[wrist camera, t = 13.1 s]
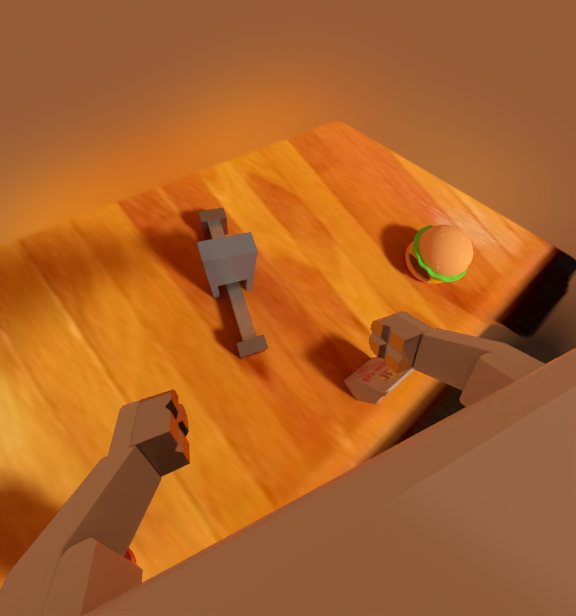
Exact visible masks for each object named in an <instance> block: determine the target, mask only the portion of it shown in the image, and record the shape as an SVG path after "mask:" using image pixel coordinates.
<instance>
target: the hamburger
mask: <svg viewBox="0 0 576 616" xmlns="http://www.w3.org/2000/svg"><path fill="white" fill-rule="evenodd" d="M472 259H473V247H472V243H471V241H470V239H469V238H468V236H467V235H466V234H465V233H464V232H463V231H461V230H460V229H458V228H455V227H453V226H449V225H439V226H431V225H430V226H427V227H424V228H422V229H421V230H419V231H418V233H417V234H416V235H415V237H414V241H413V242H412V243H410V244H409V246H408V247H407V249H406V253H405V262H406V265H407V268H408V270H409V271H410V272H411V274H412V275H413V276H414V277H415V278H417V279H418V280H420V281H422V282H424V283H429V284H438V283H441V282H443V281H444V282H451V281H456V280H458V279H460V278H461V277H463V276H464V275H465V273H466V269H467V268H468V266H469V265H470V263H471V261H472Z"/></svg>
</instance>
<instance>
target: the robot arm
mask: <svg viewBox="0 0 576 616" xmlns="http://www.w3.org/2000/svg"><path fill="white" fill-rule="evenodd" d="M371 330H372V331H373V333H372V334H371V336H370V337H369V345H370V348H371V350H372V351H373V353H374V354H375V355H376V356H377V357H380V358H383V359H384V361H385V364H386V365H387V366H388V367H389V368H390V369H391V370H393V371H394V372H395V373H396V374H398V373H400V372H403V371H405V370H408V369H410V368H413V369H415V370H417V371H419V372H422V373H424V374H426V375H429V376H431V377H433V378H435V379H438V380H440V381H442V382H445V383H447V384H449V385H452V386H454V387H456V388H459V389H461V390H463V393H462V395H461V397H460V402H461V403H462V404H463V405H465V406H466V408H464V409H462V410H460V411H458V412H456V413H455V414H453V415H451V416H449V417H447V418H445V419H444V420H442V421H440V422H438V423H436V424H434V425H432V426H431V427H429V428H427V429H425V430H423V431H421V432H420V433H418V434H416V435H414V436H412V437H410V438H408V439H407V440H405V441H403V442H401V443H399V444H397V445H396V446H394V447H392V448H390V449H388V450H386V451H385V452H383V453H381V454H379V455H377V456H375V457H373V458H372V459H370V460H368V461H366V462H364V463H362V464H361V465H359V466H357V467H355V468H353V469H351V470H349V471H348V472H346V473H344V474H342V475H340V476H338V477H337V478H335V479H333V480H331V481H329V482H327V483H325V484H324V485H322V486H320V487H318V488H316V489H314V490H313V491H311V492H309V493H307V494H305V495H303V496H301V497H300V498H298V499H296V500H294V501H292V502H290V503H289V504H287V505H285V506H283V507H281V508H279V509H277V510H276V511H274V512H272V513H270V514H268V515H266V516H265V517H263V518H261V519H259V520H257V521H255V522H254V523H252V524H250V525H248V526H246V527H244V528H242V529H241V530H239V531H237V532H235V533H233V534H231V535H230V536H228V537H226V538H224V539H222V540H220V541H219V542H217V543H215V544H213V545H211V546H209V547H207V548H206V549H204V550H202V551H200V552H198V553H196V554H195V555H193V556H191V557H189V558H187V559H185V560H183V561H182V562H180V563H178V564H176V565H174V566H172V567H171V568H169V569H167V570H165V571H163V572H161V573H160V574H158V575H156V576H154V577H152V578H150V579H148V580H147V581H145V582H143V583H142V571H143V570H142V569H141V568H140V567H139V566H138V565H136V564H134V563H133V562H131V561H129V560H128V559H126V558H124V556H125V554H126V552H127V550H128V548H129V546H130V544H131V542H132V539H133V537H134V535H135V533H136V531H137V529H138V527H139V525H140V523H141V521H142V519H143V516H144V514H145V512H146V510H147V508H148V506H149V504H150V502H151V500H152V498H153V496H154V494H155V491H156V489H157V487H158V485H159V483H160V481H161V479H162V478H161V477H162V476H164V475H166V474H168V473H171V472H173V471H175V470H177V469H179V468H181V467H184V466H186V465H188V464H190V456H189V443H188V441H187V439H186V435H187V434H188V432H189V428H188V420H187V415H186V412H185V409H184V407H183V405H182V404H179V403H178V395H177V393H176V392H175V390H170V391H167V392H164V393H160V394H157V395H154V396H151V397H148V398H145V399H141V400H140V401H136V402H133V403H130V404H127V405H124V406H122V408H121V409H120V411H119V415H118V419H117V423H116V426H115V430H114V434H113V438H112V442H111V446H110V450H109V454H108V456H107V457H104V458H102V459H101V460H100V461H99V463H98V464H97V465H96V466H95V468H94V469H93V470H92V471H91V472H90V474H89V475H88V476H87V477H86V479H85V480H84V481H83V482H82V483H81V485H80V486H79V487H78V488H77V490H76V491H75V492H74V493H73V495H72V496H71V497H70V498H69V499H68V501H67V502H66V503H65V504H64V506H63V507H62V508H61V509H60V510H59V512H58V513H57V514H56V515H55V517H54V518H53V519H52V520H51V521H50V523H49V524H48V525H47V526H46V528H45V529H44V530H43V531H42V532H41V534H40V535H39V536H38V537H37V539H36V540H35V541H34V542H33V543H32V545H31V546H30V547H29V548H28V550H27V551H26V552H25V553H24V555H23V556H22V557H21V558H20V559H19V561H18V562H17V563H16V564H15V566H14V567H13V568H12V569H11V570H10V572H9V573H8V575H7V577H6V579H5V581H4V584H3V586H2V588H1V591H0V616H576V348H575V349H573V350H571V351H569V352H568V353H565V354H564V355H562V356H560V357H558V358H556V359H554V360H552V361H551V362H549V363H547V364H544V363H542V362H540V361H538V360H536V359H534V358H532V357H530V356H529V355H527V354H525V353H523V352H521V351H519V350H517V349H515V348H513V347H511V346H509V345H507V344H506V343H501V342H497V341H492V340H487V339H483V338H479V337H474V336H469V335H465V334H460V333H456V332H451V331H447V330H442V329H438V328H437V329H433V328H432V327H430V326H428V325H427V324H425V323H423V322H422V321H420V320H418V319H417V318H415V317H413V316H412V315H410V314H408V313H407V312H404V311H401V312H398V313H395V314H392V315H390V316H387V317H384V318H381V319H378V320H375V321H373V322H372V324H371Z"/></svg>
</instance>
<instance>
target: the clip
mask: <svg viewBox="0 0 576 616" xmlns="http://www.w3.org/2000/svg"><path fill="white" fill-rule="evenodd" d="M197 245H198V249H199V252H200V256H201V259H202V263H203V266H204V269H205V272H206V275H207V278H208V281H209V284H210V287H211V290H212V293H213V296H214V299H215V298H219V297H220V294H219V290H218V286H221V285H225V284H229V283H233V282H237V281H242V280H243V282H244V285H245V289H246V291H247V290H251V289H252V285H253V278H254V271H255V264H256V257H257V248H256V245H255V243H254V240H253V237H252V234H251V232H249V233H244V234H238V235H233V236H227V237H222V238H216V239H211V240H205V241H200V242H197Z"/></svg>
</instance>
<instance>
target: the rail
mask: <svg viewBox="0 0 576 616" xmlns="http://www.w3.org/2000/svg"><path fill="white" fill-rule="evenodd" d="M198 213H199V217H200V221H201V225H202V229H203V232H204V236H205V238H209V237H211V239H216V238H222V237H225V235H226V234H228V230H227V218H226V215H225V212H224V209H223V208H219V209H212V210H205V211H198ZM225 286H226V289H227V293H228V296H229V299H230V303H231V306H232V310H233V313H234V316H235V320H236V323H237V326H238V330H239V333H240V336H241V340H242V342H239V343H237V349H238V353H239V356H240V359H243V358H246V357H249V356H252V355H255V354H258V353H261V352H264V351H265V350H266V349H267V348H268V346H267V343H266V340H265V337H264V335H261V336H258V337H256V334H255V331H254V328H253V325H252V321H251V318H250V315H249V312H248V309H247V305H246V302H245V299H244V296H243V293H242V289H241V286H240V283H239V281H237V282H233V283H229V284H225Z"/></svg>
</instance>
